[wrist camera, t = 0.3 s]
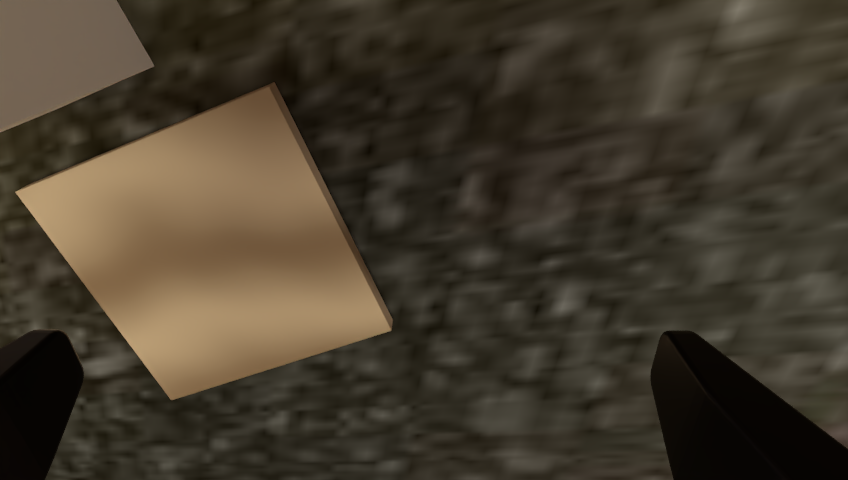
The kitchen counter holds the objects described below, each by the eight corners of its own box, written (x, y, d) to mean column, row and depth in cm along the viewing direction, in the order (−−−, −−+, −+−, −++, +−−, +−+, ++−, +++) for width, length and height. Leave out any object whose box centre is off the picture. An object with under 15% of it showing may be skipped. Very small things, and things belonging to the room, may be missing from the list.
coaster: (392, 319, 25) (391, 330, 25) (178, 388, 27) (171, 400, 27) (274, 82, 21) (268, 86, 20) (28, 184, 23) (15, 192, 22)
